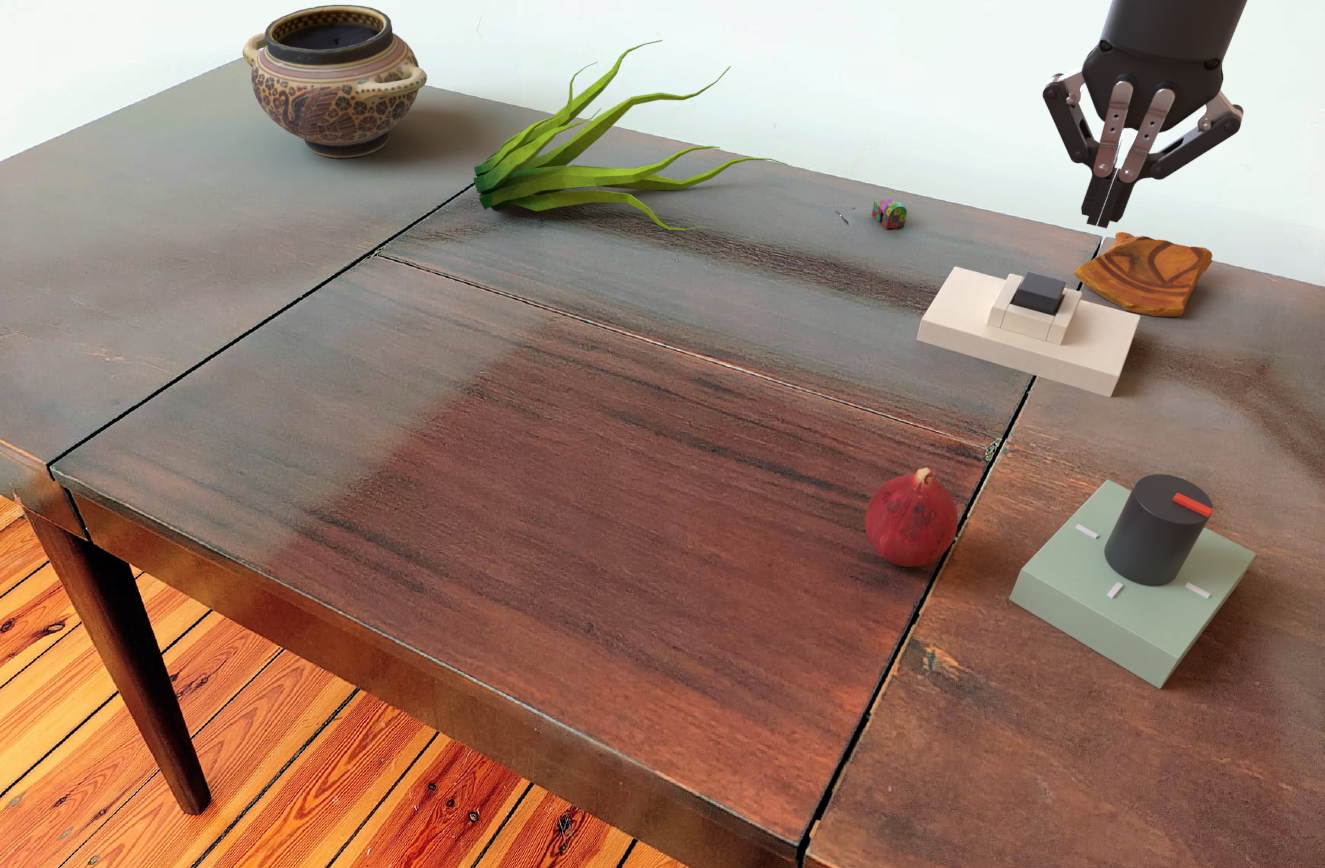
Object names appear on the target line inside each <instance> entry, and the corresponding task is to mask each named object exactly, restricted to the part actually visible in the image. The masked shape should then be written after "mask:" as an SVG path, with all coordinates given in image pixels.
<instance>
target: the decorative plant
mask: <svg viewBox="0 0 1325 868" xmlns="http://www.w3.org/2000/svg"><path fill="white" fill-rule="evenodd" d="M659 42H663V39H660V40H655V41H649V42H645V43H642V44H639V45H637V46H634V47H631V48H628V49H626V51H624V52H623V53H621V55H619V57H618V58H617V61H616V62H615V64H614V65H613V66H612V68H611V69H610V70H609V71H607V72H606V73H605V74H604V75H602V77H600V78H599V79H598V80H596V81H595V82H594V83H593V84H591V85H590V86H589V87H587V88H586V89H585V90H584V91H582V92H581V93H580V94H579V95H577V96H576V97H575V98H574V99H573V83H574V80H575V78H576V76H577V75H579V74H580V73H581V72H582V71H584V70H585V69H586V68H587V67H591V66H593V65H596V64H598V61H596V62H593V63H591V64H589V65H586V66H584V67H583V68H581V69H580V70H578V72H576V73H574V74H573V76H572V78H571V80H570V82H569V90H568V91H569V92H568V100H567V103H566V105H565V106H563V107H562V108H561V109H560V110H559V111H557V112H556V113H555V114H553V116H551V117H548V118H544V119H542V120H539V121H537V122H535V123H533V124H531V125H530V126H528V127H527V128H526V129H524V130H523V131H521V132H518V133H516V134H515V135H513V136H511V137H510V138H508V139H507V140H505V141H504V142H503V144H502V145H501V146H500V147H499V149H498V150H497V151H495V152H494V153H492V155H490V156H489V157H488V158H487V159H486V160H485V161H483V162H482V163H480V164H478V165H476V166H474V167H473V169H474V174H475V177H473V178H472V179H473V183H474V186H475V189H476V193H477V194H479V198H478V200H479V202H480V204H481V207H483V209H484V210H487V209H491V210H492V211H495V210H499V209H502V208H506V207H509V206H512V205H516V206H518V207H522V208H525V209H528V210H530V211H531V210H532V211H533V212H534V211H535V212H540V211H544V210H549V209H556V208H563V207H568V206H576V205H582V204H588V203H590V204H591V203H610V204H611V203H614V204H616V203H619V204H621V203H623V204H624V203H626V204H628V205H630V206H632V207H634V208H636V209H638V210H640V211H642V212H644V213H646V214H647V216H649V217H650V218H651V219H652V220H653V221H654V222H655V223H656V224H657V225H658V226H659V227H662V228H664V229H667V230H668V231H689V230H694V229H698V228H702V227H706V224H703V225H699V226H695V227H689V228H682V227H669V226H668V225H667V224H664V223H663V222H662V221H661V220H659V218H658V217H657V216H656V215H655V213H654V212H653V211H652V210H651V209H650V207H648V206H647V205H645V204H644V203H643V202H642V201H640V200H639V199H638V198H636V197H634V196H633V195H632V194H631V193H625V192H619V191H610V190H603V189H602V190H601V189H586V190H585V189H584V190H583V189H582V188H591V187H598V188H609V189H610V188H611V189H623V190H635V191H667V190H668V191H671V190H673V191H675V190H677V191H678V190H680V191H681V190H685V189H687V188H690V187H693V186H696V185H698V184H701V183H704V182H706V181H708V180H712V179H713V178H715V177H716V176H717V175H719V174H720V173H722V172H723V171H725V170H726V169H728V168H729V167H731V166H733V165H735V164H738V163H743V162H745V161H772V162H776V163H777V164H780V165H785V166H788V165H789V164H788V163H787V162H786V163H785V162H782V161H779V160H777V159H773V158H769V157H752V156H751V157H750V156H747V157H740V158H735V159H731V160H728V161H726V162H724V163H722V164H721V165H719V166H717V167H715V168H713V169H711V170H709V171H707V172H704V173H700V174H697V175H694V176H691V177H687V178H685V179H682V180H678V179H676V178H675V179H674V178H670V177H666V176H663V175H658V174H657V173H659V172H661V171H663V170H665V169H666V168H667V167H669V166H670V165H672V164H673V163H674V162H675V161H676V160H677V159H679V158H680V157H682V156H684V155H687V154H688V153H690V152H692V151H700V150H706V149H721V147H720V146H715V145H705V146H703V145H700V146H699V145H698V146H692V147H689V148H686V149H683V150H681V151H678V152H675V153H674V154H673V155H671V156H669V157H667V158H666V159H664V160H661V161H660V162H657V163H652V164H648V165H642V166H638V167H635V168H614V167H602V166H590V165H577V164H575V165H574V164H572V165H568V164H570V163H571V162H573V161H574V160H576V159H577V158H578V157H579V156H580V155H581V154H582V153H584V152H585V151H586V150H588V148H589V147H591V146H592V145H593V144H594V143H595V142H596V141H598V139H600V138H601V137H602V136H603V135H604V134H605V133H607V131H609V130H610V129H611V128H612V127H613V126H614V125H615V124H616V123H617V122H618V121H619V120H621V118H622V117H623V116H624V115H625V114H626V113H627V112H629V110H630V109H632V107H633V106H636V105H637V106H638V105H641V104H646V103H650V102H651V103H652V102H656V101H685V100H688V99H691V98H695V97H697V96H699V95H701V94H702V93H703V92H705V91H706V90H708V89H709V88H710V87H712V86H713V85H715V84H716V83H718V81H719V80H721V78H722V77H723V76H724V75H725V74H726V73H727V71H729V69H730V68H731V66H730V65H729V66H728V67H727V68H726V69H725V71H724V72H723V73H722V74H721V75H720V76H719V77H718V78H717V79H716V81H713V82H712V83H710V84H709V85H707V86H705V87H703V88H702V89H700V90H699V91H697V92H695V93H690V94H685V95H680V94H673V93H665V92H655V93H648V94H639V95H634V96H631V97H629V98H627V99H626V100H624V101H622V102H621V103H619V104H617V105H615V106H613V107H612V108H610V109H608V110H607V111H605V112H603V113H601V114H600V115H598V116H596V115H597V114H598V113H599V112H600V111H601V109H602V107H600V108H599V109H598V110H597V111H596V112H595V113H594V114H593V115H592V116H591V117H589V118H586V119H583V120H580V121H575V122H573V123H571V122H572V121H573V120H574V119H575V118H577V117H578V116H579V115H580V114H581V112H583V111H584V110H585V109H586V108H587V107H588V106H589V105H590V104H591V103H592V102H593V101H594V100H595V99H596V98H597V97H598V96H599V95H600V94H601V93H602V92H604V90H605V89H606V88H607V87H608V86H609V85H610V83H611V82H612V81H613V79H614V78H615V77H616V76H617V75H618V73H619V70H620V67H621V64H622V62H623V59H624V58H625V57H626V56H627V55H628V54H629V53H631V52H632V51H635V50H637V49H639V48H642V47H643V46H645V45H650V44H655V43H659ZM595 116H596V117H595ZM592 119H593V120H592ZM590 120H591V121H590ZM588 121H590V122H589V123H588V124H587V125H585V126H584V127H583V128H582V129H581V130H579V131H578V132H577V133H575V135H573V136H572V137H571V138H570V139H569V140H567V141H566V142H565V143H563V144H561V145H559V146H557V147H556V148H554V149H551V150H550V151H549V152H547V153H545V154H541V155H539V154H540V153H541V151H542V150H543V149H544V148H545V147H546V146H548V144H550V142H551V141H552V140H553V139H554V138H555V137H556V136H557V135H558V134H560V133H562V132H565V131H566V130H570V129H571V128H574V127H576V126H579V125H582V124H583V123H585V122H588ZM568 189H582V190H568ZM564 190H565V191H564ZM567 190H568V191H567Z"/></svg>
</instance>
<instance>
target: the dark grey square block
mask: <svg viewBox="0 0 1325 868" xmlns="http://www.w3.org/2000/svg"><path fill="white" fill-rule="evenodd" d="M1023 277H1024V279H1023V281H1022V283H1021V285H1020V287H1019V288H1018V291H1017V294H1016V297H1015V300H1014V304H1013V305H1016V306H1019V307H1023V308H1027V309H1030V310H1034V311H1038V312H1041V313H1045V314H1049V315H1052V316H1053V314H1054V311H1055V309H1056V307H1057V305H1058V303H1059V301H1060V298H1061V295H1062V293H1063V290H1064V288H1066V284H1067V281H1065V280H1061V279H1058V278H1054V277H1049V276H1045V275H1042V274H1039V273H1034V272H1030V271H1027V272H1026V274H1025V275H1024V276H1023Z"/></svg>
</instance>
